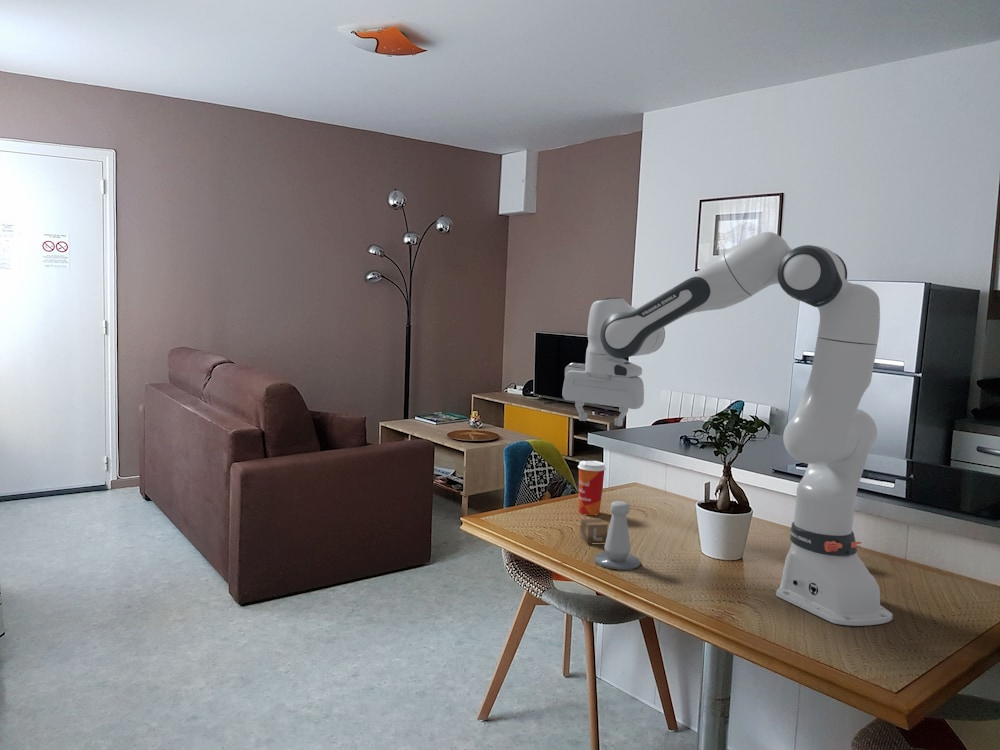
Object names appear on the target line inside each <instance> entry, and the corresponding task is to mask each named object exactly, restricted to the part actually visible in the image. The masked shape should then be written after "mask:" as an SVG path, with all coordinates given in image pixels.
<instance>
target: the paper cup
mask: <svg viewBox="0 0 1000 750" xmlns="http://www.w3.org/2000/svg"><path fill="white" fill-rule="evenodd" d="M577 468H578V513H579V512H580V513H582V514H581V515H583V514H587V515H586V516H588V515H595V514H598V515H599V514H600V511H601V510H600V509H601V502H602V494H603V489H604V488H603V487H604V480H605V479H604V478H605V470H607V468H606V466H605V462H601V461H599V460H581V461H579V463H578V465H577ZM580 513H579V514H580ZM595 516H596V515H595Z"/></svg>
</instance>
